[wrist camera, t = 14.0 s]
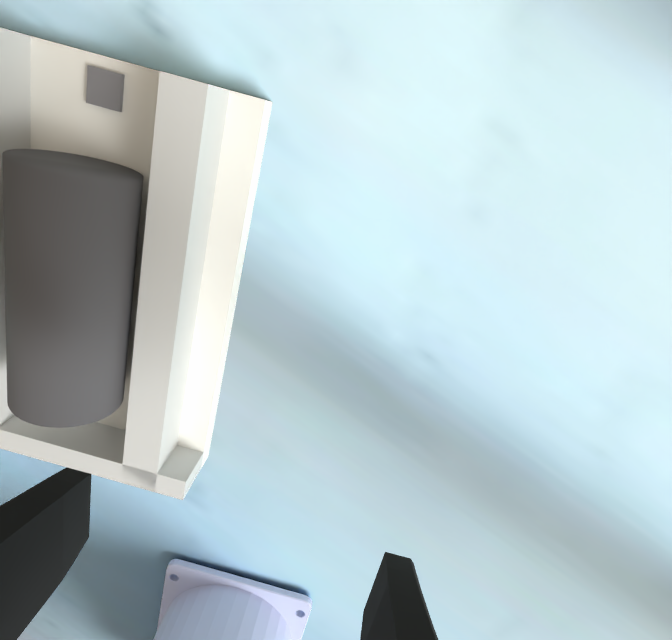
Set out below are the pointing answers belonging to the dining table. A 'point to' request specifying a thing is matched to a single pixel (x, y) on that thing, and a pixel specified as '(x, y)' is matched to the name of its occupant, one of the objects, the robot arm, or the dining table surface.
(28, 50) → the comb rack
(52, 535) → the robot arm
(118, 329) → the grey rounded cylinder
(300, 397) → the dining table surface
